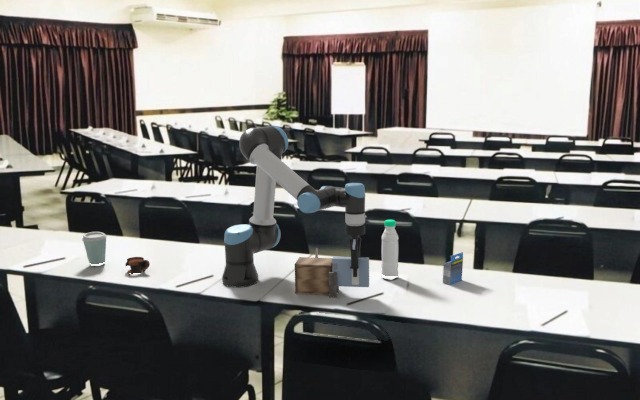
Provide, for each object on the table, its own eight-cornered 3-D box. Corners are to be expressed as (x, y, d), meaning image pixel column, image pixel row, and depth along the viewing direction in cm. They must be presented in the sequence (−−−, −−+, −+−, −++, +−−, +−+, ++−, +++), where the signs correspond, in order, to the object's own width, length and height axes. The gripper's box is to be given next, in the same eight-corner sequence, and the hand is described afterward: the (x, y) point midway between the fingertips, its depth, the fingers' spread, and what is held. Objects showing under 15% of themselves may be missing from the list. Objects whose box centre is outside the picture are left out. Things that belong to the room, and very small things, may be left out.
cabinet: (293, 296, 240) (293, 266, 237) (300, 285, 252) (299, 257, 250) (336, 297, 237) (336, 267, 235) (341, 286, 249) (340, 258, 247)
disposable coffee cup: (113, 263, 287) (111, 232, 285) (94, 269, 278) (91, 237, 276) (99, 260, 293) (96, 230, 290) (79, 266, 284) (76, 234, 281)
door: (332, 286, 238) (332, 258, 236) (333, 283, 241) (333, 256, 239) (368, 287, 235) (368, 259, 233) (369, 284, 238) (369, 257, 236)
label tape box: (454, 278, 258) (455, 250, 256) (462, 280, 256) (463, 251, 253) (442, 283, 252) (443, 254, 250) (450, 285, 249) (451, 256, 247)
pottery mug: (121, 276, 269) (120, 258, 272) (133, 280, 278) (133, 262, 280) (144, 271, 266) (144, 253, 269) (156, 275, 275) (156, 257, 277)
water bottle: (400, 276, 262) (400, 219, 257) (395, 281, 255) (395, 222, 251) (384, 274, 265) (384, 218, 260) (379, 279, 258) (379, 221, 254)
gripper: (363, 228, 225) (363, 290, 229) (367, 219, 241) (367, 276, 245) (342, 228, 226) (343, 289, 230) (348, 219, 242) (348, 276, 246)
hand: (355, 282), depth 238 cm, fingers closed on door, 3 cm apart
